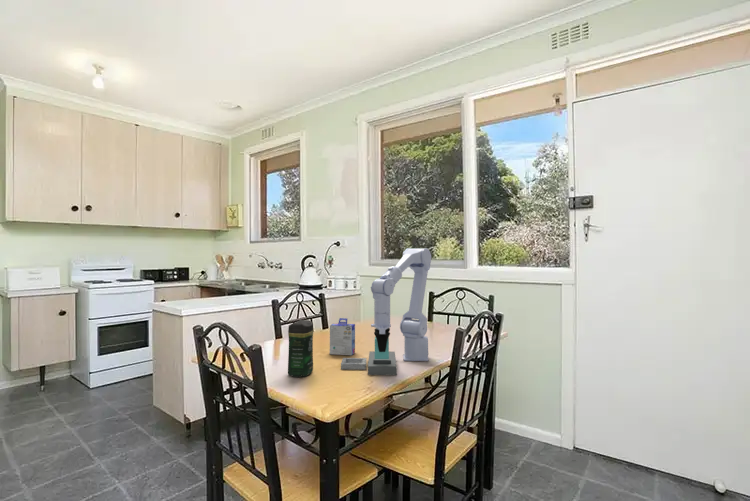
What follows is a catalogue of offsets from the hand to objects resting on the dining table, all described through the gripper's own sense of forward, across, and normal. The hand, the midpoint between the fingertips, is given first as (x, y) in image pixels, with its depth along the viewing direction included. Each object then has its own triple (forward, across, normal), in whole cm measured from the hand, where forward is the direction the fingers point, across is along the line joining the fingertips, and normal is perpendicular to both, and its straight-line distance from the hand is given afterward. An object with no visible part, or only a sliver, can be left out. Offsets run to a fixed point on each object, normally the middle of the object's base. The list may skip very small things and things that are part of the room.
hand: (382, 350), depth 144 cm
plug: (+3, 0, 0) cm, 3 cm away
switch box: (+7, -5, 0) cm, 9 cm away
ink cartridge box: (+8, -23, -16) cm, 29 cm away
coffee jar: (+8, +4, -28) cm, 30 cm away
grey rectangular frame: (+7, -5, -10) cm, 14 cm away
